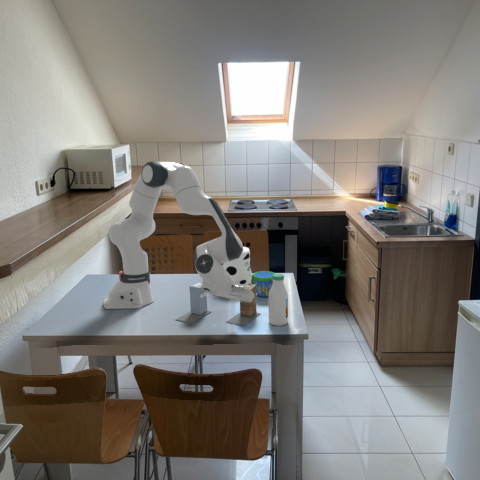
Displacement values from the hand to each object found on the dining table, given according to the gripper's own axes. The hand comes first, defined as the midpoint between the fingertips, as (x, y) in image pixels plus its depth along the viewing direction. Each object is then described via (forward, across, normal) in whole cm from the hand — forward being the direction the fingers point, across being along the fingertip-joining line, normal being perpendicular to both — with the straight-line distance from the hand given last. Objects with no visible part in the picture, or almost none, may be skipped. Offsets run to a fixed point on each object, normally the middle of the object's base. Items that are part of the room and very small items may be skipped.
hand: (236, 299), depth 189 cm
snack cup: (+31, +5, -16) cm, 35 cm away
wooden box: (+13, 0, 0) cm, 13 cm away
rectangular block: (+8, +19, +6) cm, 22 cm away
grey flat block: (+5, +19, +9) cm, 22 cm away
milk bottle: (+13, -15, +1) cm, 19 cm away
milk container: (+35, +25, -21) cm, 48 cm away
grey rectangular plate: (+10, 0, +3) cm, 11 cm away
